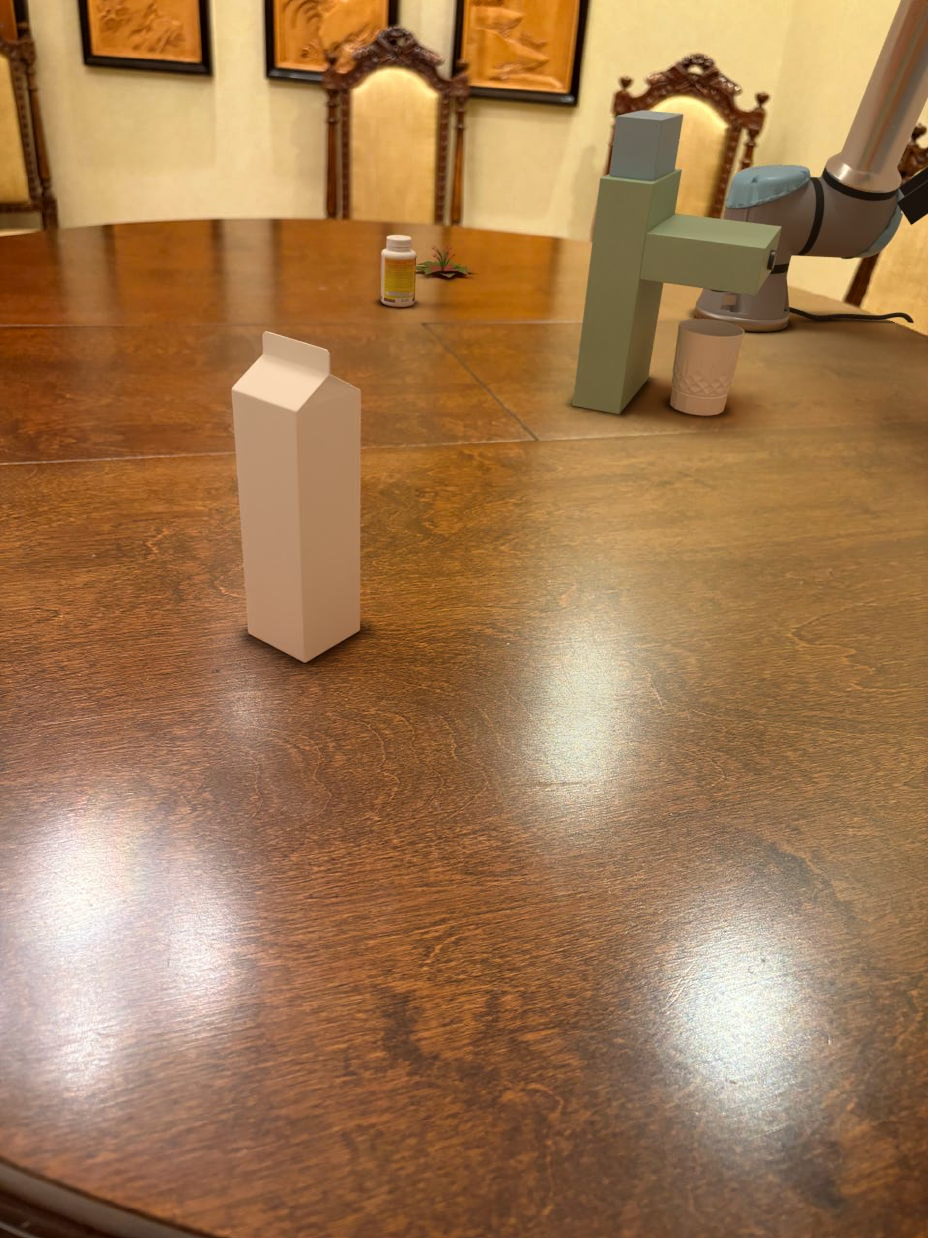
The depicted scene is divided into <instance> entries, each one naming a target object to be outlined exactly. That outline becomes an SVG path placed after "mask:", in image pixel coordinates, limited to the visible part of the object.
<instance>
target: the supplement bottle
mask: <svg viewBox="0 0 928 1238" xmlns="http://www.w3.org/2000/svg"><path fill="white" fill-rule="evenodd" d="M412 242H413V241H412V236H408V235H403V234H391V235H387V236H386V242H385V244H386V246H385V248H383V249H382V250H381V253H380V301H381V303H382V304H383V305H385V306H387V307H394V308H407V307H411V306H413V305H414V304H415V301H416V278H417V276H416V275H417V272H416V271H417V270H416V266H417V252H416V251H415V250H414V249H413V248H412V246H413V243H412Z"/></svg>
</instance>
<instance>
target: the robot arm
mask: <svg viewBox="0 0 928 1238" xmlns="http://www.w3.org/2000/svg"><path fill="white" fill-rule="evenodd" d="M927 101H928V0H900V1H899V3H898V6H897V8H896V12H895V14H894V16H893V19H892V21H891V24H890V26H889V29H888V31H887V34H886V36H885V39H884V42H883V44H882V47H881V50H880V52H879V54H878V57H877V60H876V62H875V65H874V67H873V69H872V73H871V75H870V77H869V80H868V83H867V85H866V87H865V90H864V93H863V96H862V98H861V100H860V103H859V106H858V108H857V111H856V114H855V115H854V117H853V118H854V119H853V121H852V123H851V126H850V128H849V131H848V133H847V136H846V138H845V141H844V144H843V147H842V149H841V151H840V152H837V153H836V154H834V155H832V156H830V157H829V158H828V159H827V160H826V162H825V165H824V168H823V170H822V173H821V175H820V176H812V175H811V170H810V168H808V167H807V166H803V165H799V164H798V165H797V164H766V165H765V164H764V165H756V166H751V167H747V168H746V167H745V168H744V169H741V170H738V172H736V173H735V174H734V175H733V177H732V178H731V180H730V183H729V189H728V192H727V195H726V198H725V201H724V212H723V217H722V219H725V220H733V221H741V222H749V223H757V224H765V225H773V226H781V227H782V228H781V233H780V238H779V242H778V247H777V255H776V260H775V264H774V267H773V270H772V271H771V272H770V274H769V275H768V277H767V279H766V280H765V282H764V283H763V285H762V286H761V288H760V289H759V291H758V292H757V294H756V296H752V295H745V294H738V293H731V292H715V291H711V290H709V289H704V288H702V290H701V292H700V294H699V296H698V298H697V300H696V302H695V307H694V312H693V314H694V316H695V318H696V319H710V320H718V321H723V322H728V323H731V324H734V325H737V326H739V327H741V328H742V329H744V331H745V332H774V331H780V330H783V329H785V328H787V327H788V324H789V321H790V316H791V314H793V315H797V316H801V317H803V318H806V319H809V320H812V321H813V320H814V321H829V320H839V319H840V320H841V319H846V320H847V319H848V320H849V319H850V320H863V321H865V320H866V321H884V320H889V319H895V318H902V319H903V320H905V321H906V322H907V323H909V324H915V321H914V320H913V318H912V317H911V315H909V314H907V313H905V312H900V311H898V312H897V311H896V312H890V313H886V314H885V313H884V314H860V313H832V314H821V315H820V314H814V313H810V312H807V311H804V310H801V309H798V308H795V307H792V306H790V299H789V298H790V297H789V288H788V273H789V268H790V263H791V260H792V259H791V258H792V257H793V256H794V257H815V258H839V259H842V260H852V259H867V258H870V257H873V256H876V255H877V254H879V253H881V252H882V251H883V250H884V249H885V248H886V247H887V246H888V245H889V244H890V242H891V241H892V240H893V238H894V236H895V235H896V234H897V231H898V230H899V227H900V225H901V223H902V220H903V216H904V217H905V218H906V220H907V222H908V223H909V225H910V226H913V225H914V224H916V223H917V222H918V221H920V220H921V219H923V218H924V217H925V216H927V215H928V166H926V167H924V168H923V169H922V170H920V171H919V172H917V173H916V174H915V175H913V176H912V177H911V178H909V179H907V180H906V181H905V182H904V183H902V182H903V181H902V179H903V178H902V176H901V173H900V172H899V169H898V166H899V164H900V162H901V160H902V157H903V155H904V153H905V150H906V148H907V145H908V144H909V141H910V139H911V137H912V134H913V132H914V130H915V128H916V125H917V123H918V122H919V119H920V117H921V114H922V112H923V111H924V107H925V105H926V103H927Z"/></svg>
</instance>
